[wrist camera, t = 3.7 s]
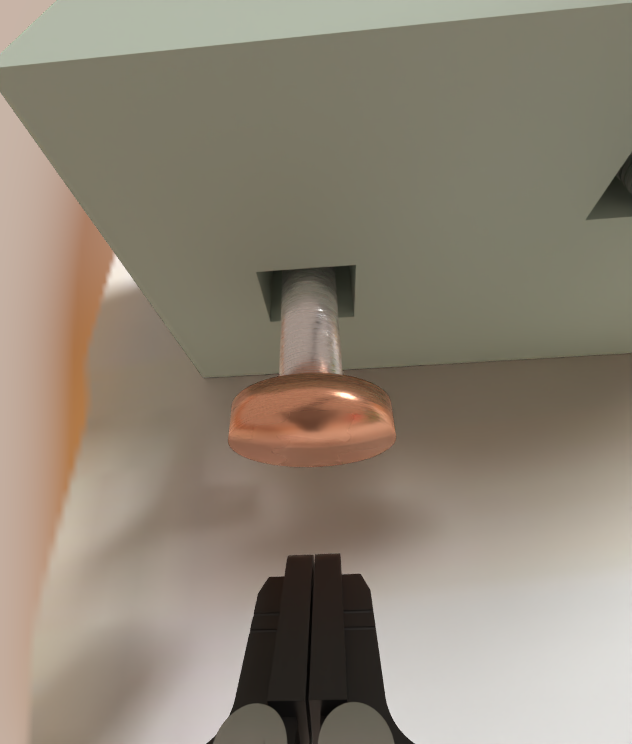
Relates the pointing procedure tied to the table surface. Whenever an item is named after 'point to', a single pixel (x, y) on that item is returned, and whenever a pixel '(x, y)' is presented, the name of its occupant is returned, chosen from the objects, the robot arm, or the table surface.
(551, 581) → the table surface
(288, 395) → the plunger terracotta
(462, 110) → the console
